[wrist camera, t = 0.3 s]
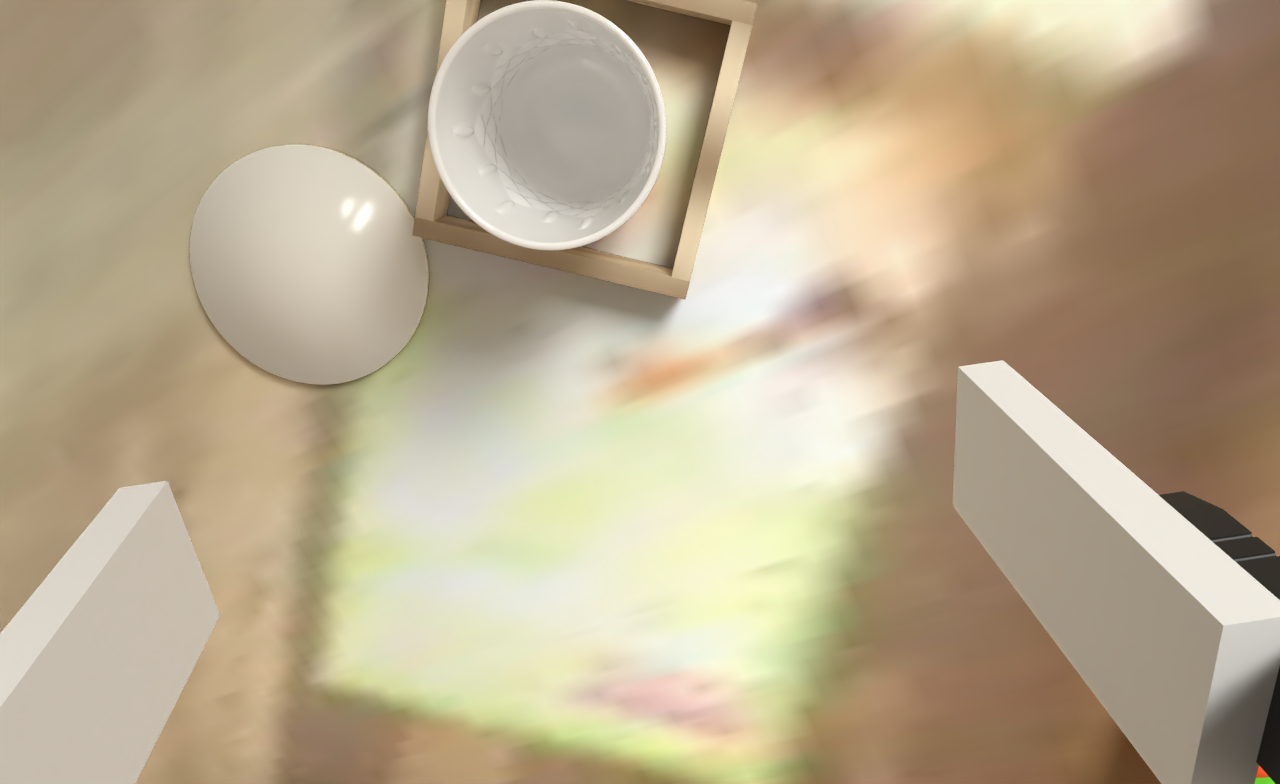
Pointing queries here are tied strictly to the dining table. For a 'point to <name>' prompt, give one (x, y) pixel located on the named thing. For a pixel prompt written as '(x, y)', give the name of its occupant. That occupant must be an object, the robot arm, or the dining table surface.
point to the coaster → (308, 264)
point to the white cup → (547, 125)
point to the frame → (432, 222)
